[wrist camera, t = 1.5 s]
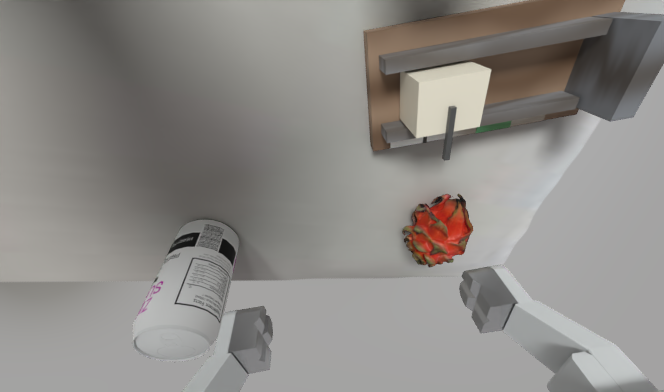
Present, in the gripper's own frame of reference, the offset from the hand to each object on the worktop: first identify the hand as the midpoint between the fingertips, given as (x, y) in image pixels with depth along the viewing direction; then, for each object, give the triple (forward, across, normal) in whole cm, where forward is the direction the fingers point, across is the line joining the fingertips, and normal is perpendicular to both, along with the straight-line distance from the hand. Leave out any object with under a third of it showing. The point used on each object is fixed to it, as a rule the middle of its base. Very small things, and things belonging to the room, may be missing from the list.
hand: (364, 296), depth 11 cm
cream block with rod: (+21, -11, 0) cm, 24 cm away
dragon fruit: (+24, -13, +18) cm, 32 cm away
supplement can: (+23, +19, +15) cm, 34 cm away
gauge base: (+23, -17, -1) cm, 28 cm away
